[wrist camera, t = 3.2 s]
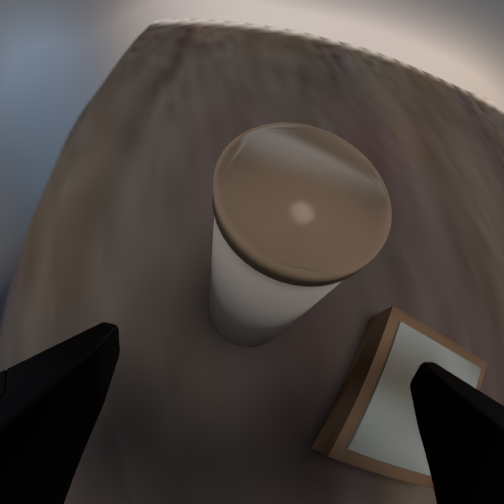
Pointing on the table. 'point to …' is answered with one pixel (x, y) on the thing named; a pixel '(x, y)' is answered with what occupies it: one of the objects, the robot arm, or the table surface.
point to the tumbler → (289, 226)
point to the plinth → (390, 397)
